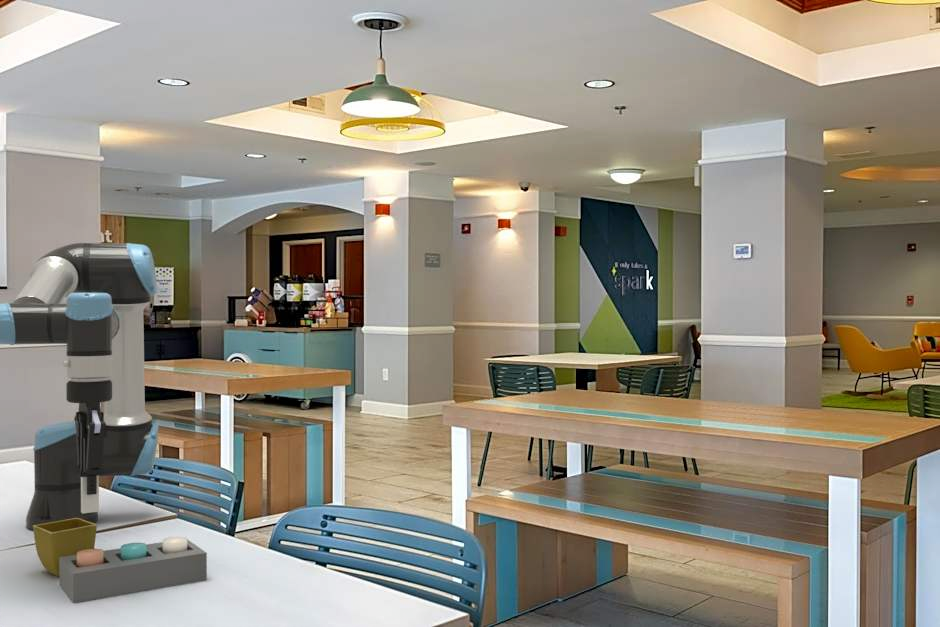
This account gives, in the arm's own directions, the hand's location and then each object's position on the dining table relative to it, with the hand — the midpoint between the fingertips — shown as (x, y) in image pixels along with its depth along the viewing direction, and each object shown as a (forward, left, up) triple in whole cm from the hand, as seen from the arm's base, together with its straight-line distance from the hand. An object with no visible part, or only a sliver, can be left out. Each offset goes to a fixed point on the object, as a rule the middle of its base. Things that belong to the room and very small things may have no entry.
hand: (89, 511), depth 162 cm
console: (0, +8, -14) cm, 16 cm away
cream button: (0, +15, -10) cm, 18 cm away
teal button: (0, +8, -10) cm, 13 cm away
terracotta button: (0, 0, -10) cm, 10 cm away
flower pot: (-14, -1, -14) cm, 20 cm away
